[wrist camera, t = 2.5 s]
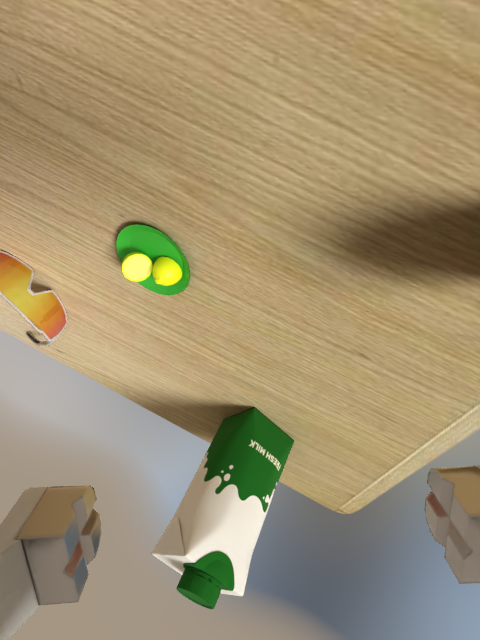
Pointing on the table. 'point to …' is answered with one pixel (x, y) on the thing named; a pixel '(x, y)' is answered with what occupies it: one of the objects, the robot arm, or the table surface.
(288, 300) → the table surface
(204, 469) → the soya milk
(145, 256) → the plate with lemons
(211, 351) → the table surface
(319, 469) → the table surface
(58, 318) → the sunglasses
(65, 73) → the table surface
